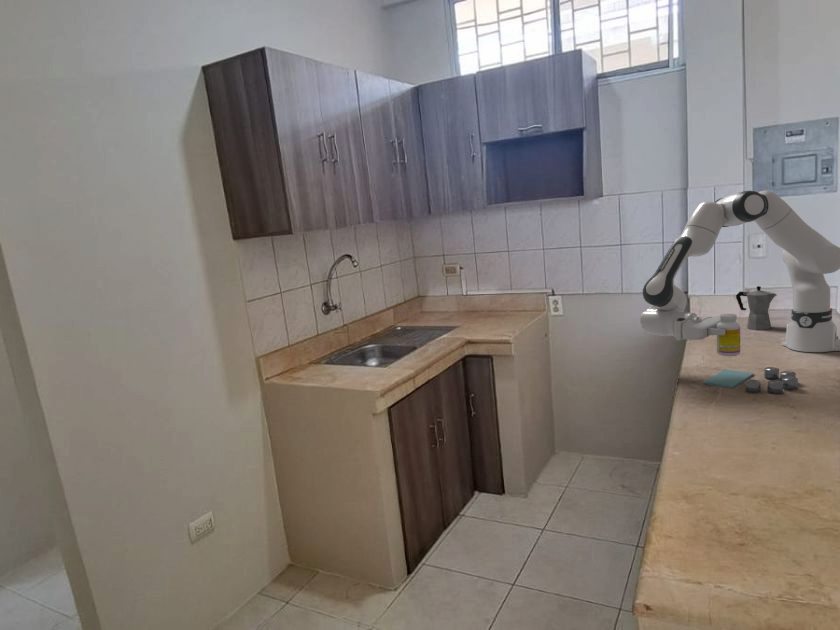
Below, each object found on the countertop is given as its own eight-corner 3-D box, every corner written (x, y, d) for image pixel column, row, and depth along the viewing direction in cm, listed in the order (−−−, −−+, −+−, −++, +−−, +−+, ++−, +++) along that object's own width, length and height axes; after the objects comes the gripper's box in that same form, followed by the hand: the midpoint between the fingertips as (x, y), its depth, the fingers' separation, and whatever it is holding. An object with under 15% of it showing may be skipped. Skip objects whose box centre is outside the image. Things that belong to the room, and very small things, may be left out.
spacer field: (767, 375, 183) (767, 366, 182) (808, 380, 174) (808, 371, 174) (743, 391, 171) (743, 382, 171) (785, 398, 162) (786, 388, 162)
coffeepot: (779, 326, 239) (779, 284, 236) (773, 331, 233) (773, 288, 229) (739, 324, 250) (739, 284, 247) (732, 328, 244) (732, 287, 240)
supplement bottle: (743, 356, 178) (743, 316, 175) (720, 357, 179) (720, 318, 177) (736, 350, 184) (736, 312, 182) (714, 351, 186) (713, 313, 183)
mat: (724, 370, 192) (724, 369, 192) (753, 374, 185) (753, 373, 185) (703, 383, 182) (703, 382, 182) (733, 388, 175) (733, 386, 175)
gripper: (702, 327, 197) (744, 331, 186) (673, 341, 185) (717, 346, 174) (701, 310, 196) (744, 313, 185) (673, 322, 183) (717, 326, 173)
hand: (731, 329), depth 179 cm, fingers closed on supplement bottle, 7 cm apart
